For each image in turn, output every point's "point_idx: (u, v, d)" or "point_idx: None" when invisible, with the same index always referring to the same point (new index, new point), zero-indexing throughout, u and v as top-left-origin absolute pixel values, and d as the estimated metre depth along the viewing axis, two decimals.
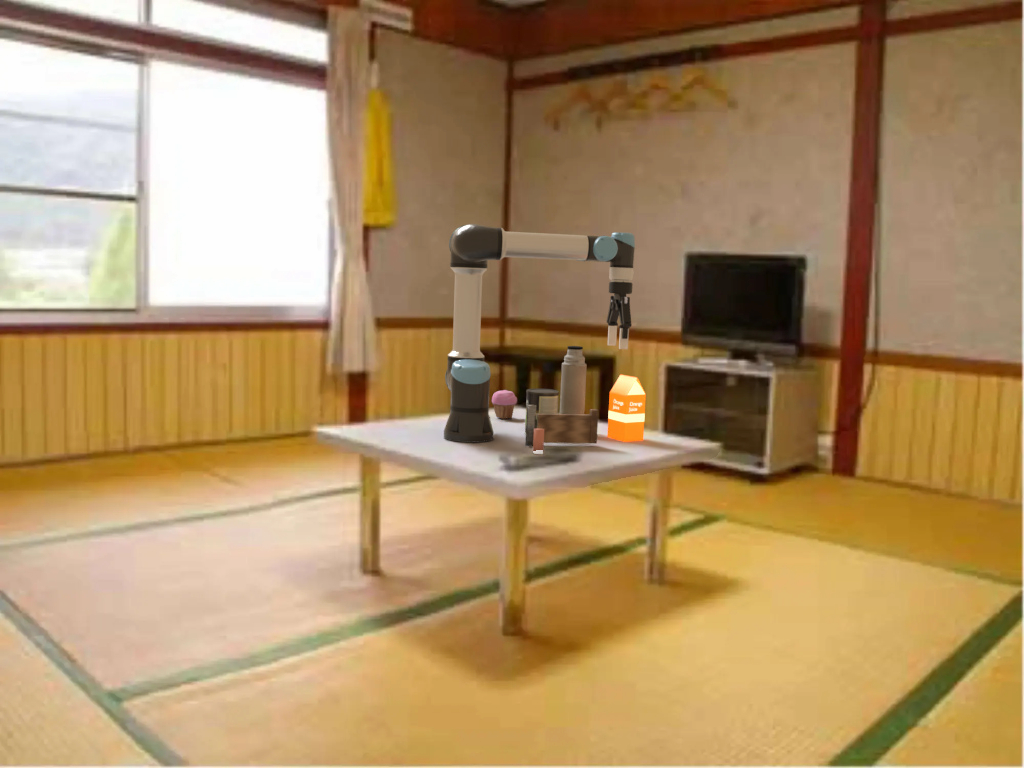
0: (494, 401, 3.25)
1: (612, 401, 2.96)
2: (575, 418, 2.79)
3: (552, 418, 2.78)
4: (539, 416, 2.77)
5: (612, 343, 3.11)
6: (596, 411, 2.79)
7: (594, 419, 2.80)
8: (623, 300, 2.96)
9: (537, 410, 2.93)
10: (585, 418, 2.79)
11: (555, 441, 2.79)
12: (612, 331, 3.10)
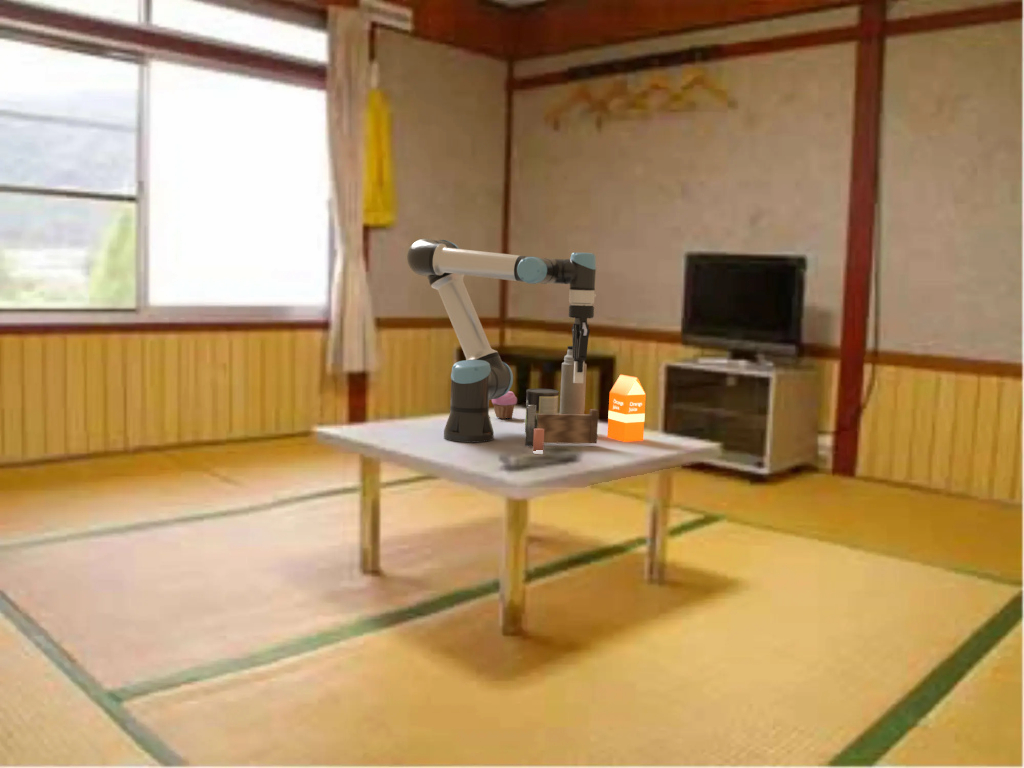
0: (494, 401, 3.25)
1: (612, 401, 2.96)
2: (575, 418, 2.79)
3: (552, 418, 2.78)
4: (539, 416, 2.77)
5: None
6: (596, 411, 2.79)
7: (594, 419, 2.80)
8: (582, 333, 2.77)
9: (537, 410, 2.93)
10: (585, 418, 2.79)
11: (555, 441, 2.79)
12: None
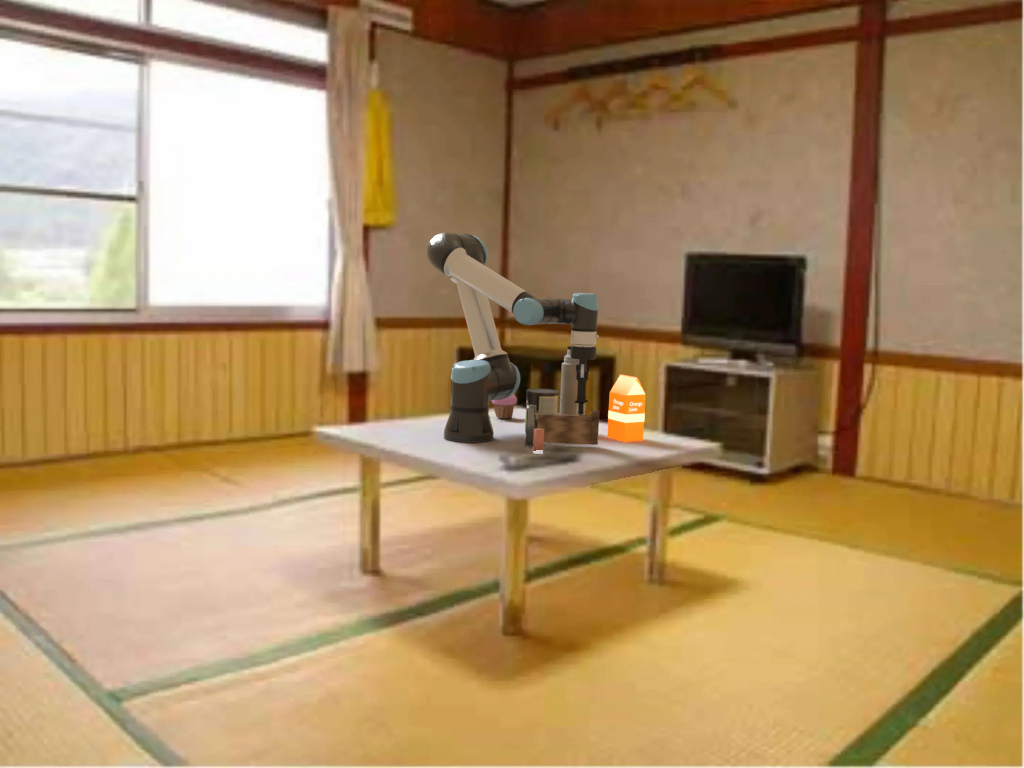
0: (494, 401, 3.25)
1: (612, 401, 2.96)
2: (575, 419, 2.77)
3: (552, 418, 2.77)
4: (539, 416, 2.77)
5: None
6: (597, 412, 2.77)
7: (595, 420, 2.78)
8: (579, 375, 2.73)
9: (537, 410, 2.93)
10: (586, 419, 2.77)
11: (555, 441, 2.78)
12: None
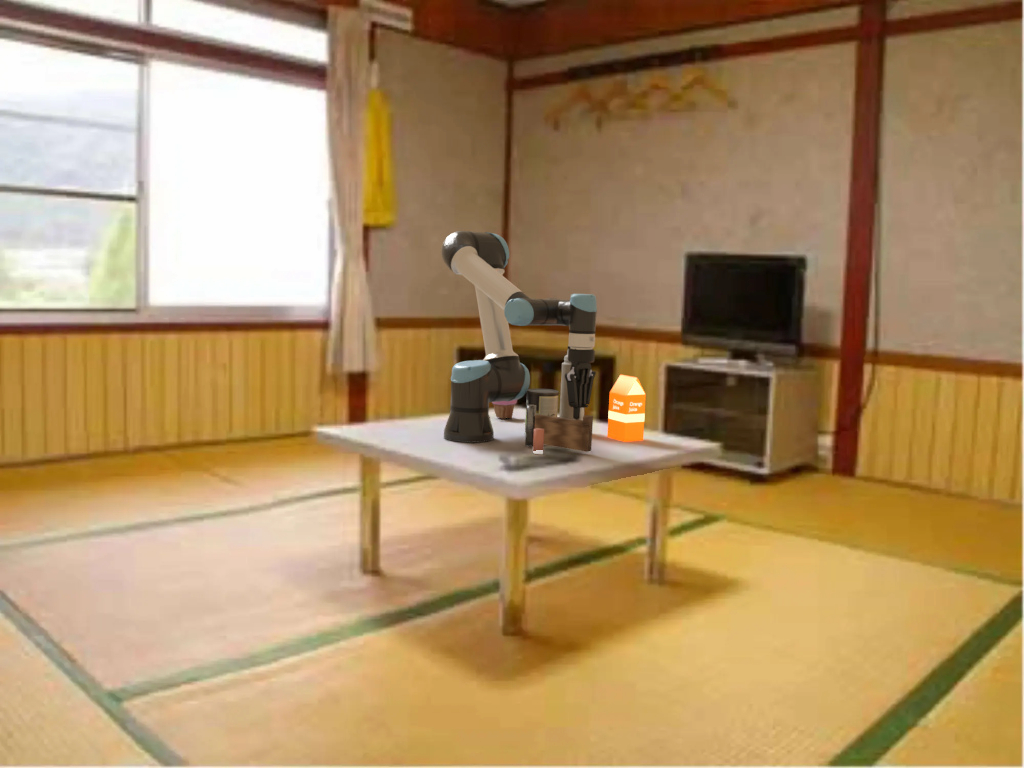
0: None
1: (612, 401, 2.96)
2: (567, 423, 2.69)
3: (547, 420, 2.73)
4: (535, 417, 2.75)
5: None
6: (587, 417, 2.66)
7: (586, 426, 2.66)
8: (566, 378, 2.65)
9: (537, 410, 2.93)
10: (577, 424, 2.68)
11: (550, 444, 2.74)
12: None
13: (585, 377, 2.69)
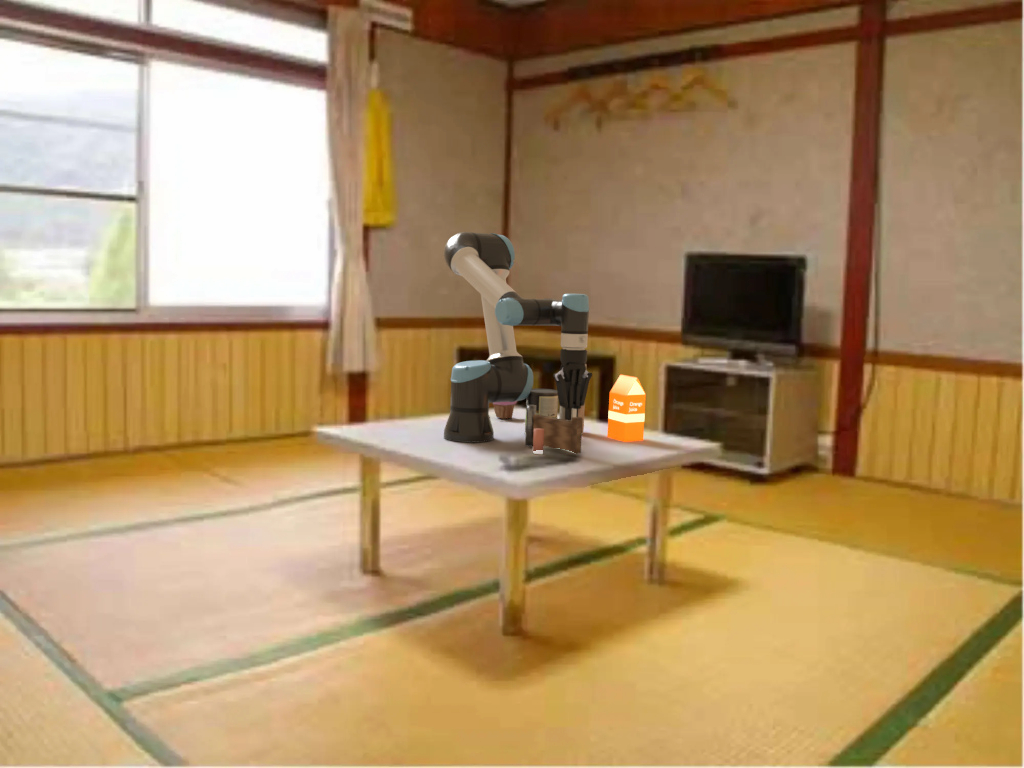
0: None
1: (612, 401, 2.96)
2: (559, 424, 2.67)
3: (542, 420, 2.72)
4: (533, 417, 2.75)
5: None
6: (575, 419, 2.62)
7: (574, 427, 2.63)
8: (555, 378, 2.63)
9: (537, 410, 2.93)
10: (566, 425, 2.65)
11: (545, 445, 2.72)
12: None
13: (577, 378, 2.65)
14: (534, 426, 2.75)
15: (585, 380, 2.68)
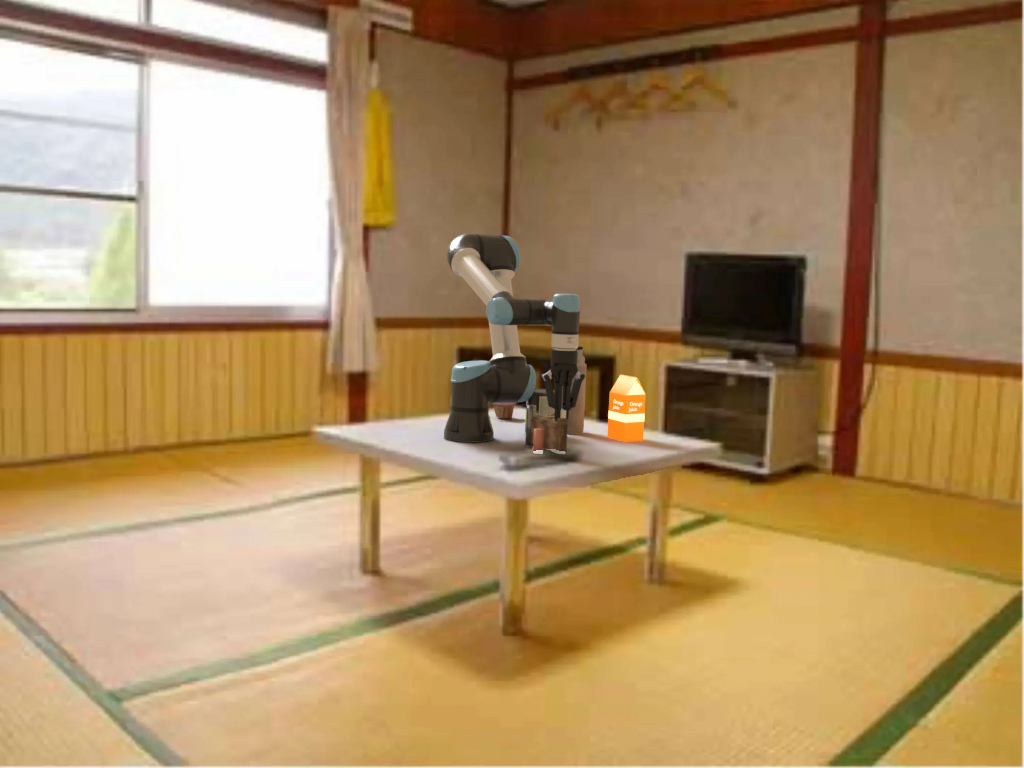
0: None
1: (612, 401, 2.96)
2: (548, 424, 2.65)
3: (537, 421, 2.72)
4: (531, 417, 2.75)
5: None
6: (559, 420, 2.59)
7: (558, 428, 2.60)
8: (542, 378, 2.62)
9: (537, 410, 2.93)
10: (553, 426, 2.63)
11: None
12: None
13: (567, 379, 2.62)
14: (532, 426, 2.75)
15: (577, 381, 2.64)
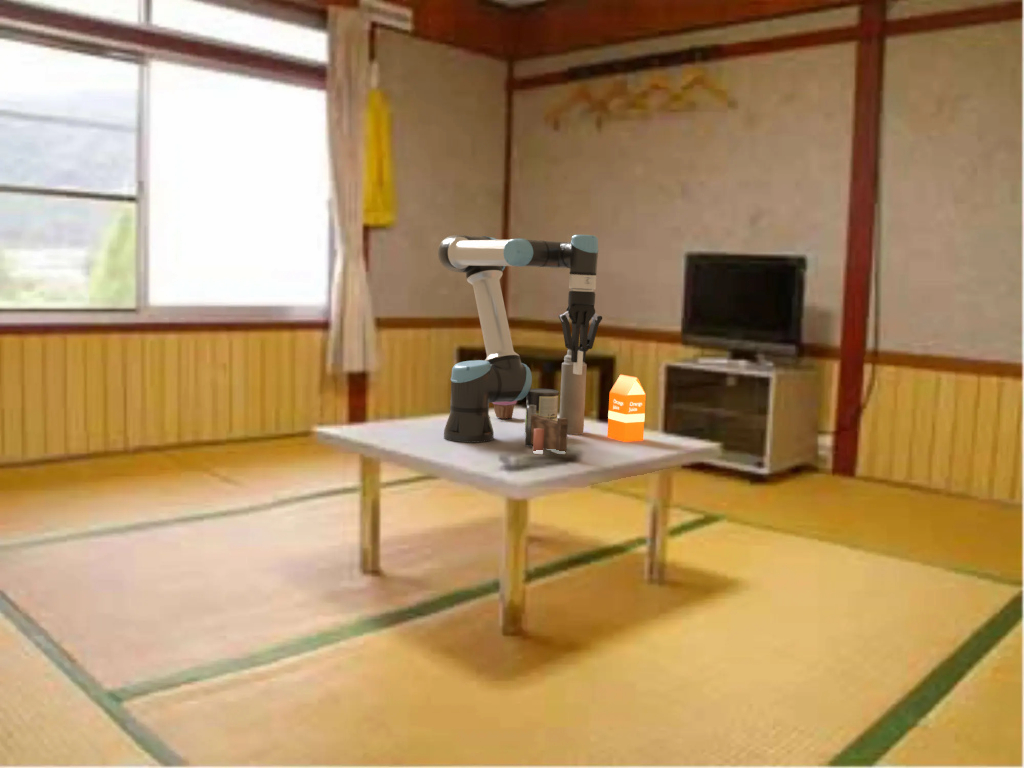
0: None
1: (612, 401, 2.96)
2: (548, 424, 2.65)
3: (537, 421, 2.72)
4: (531, 417, 2.75)
5: None
6: (559, 420, 2.59)
7: (558, 428, 2.60)
8: (560, 319, 2.63)
9: (537, 410, 2.93)
10: (553, 426, 2.63)
11: None
12: None
13: (584, 320, 2.64)
14: (532, 426, 2.75)
15: (594, 323, 2.66)
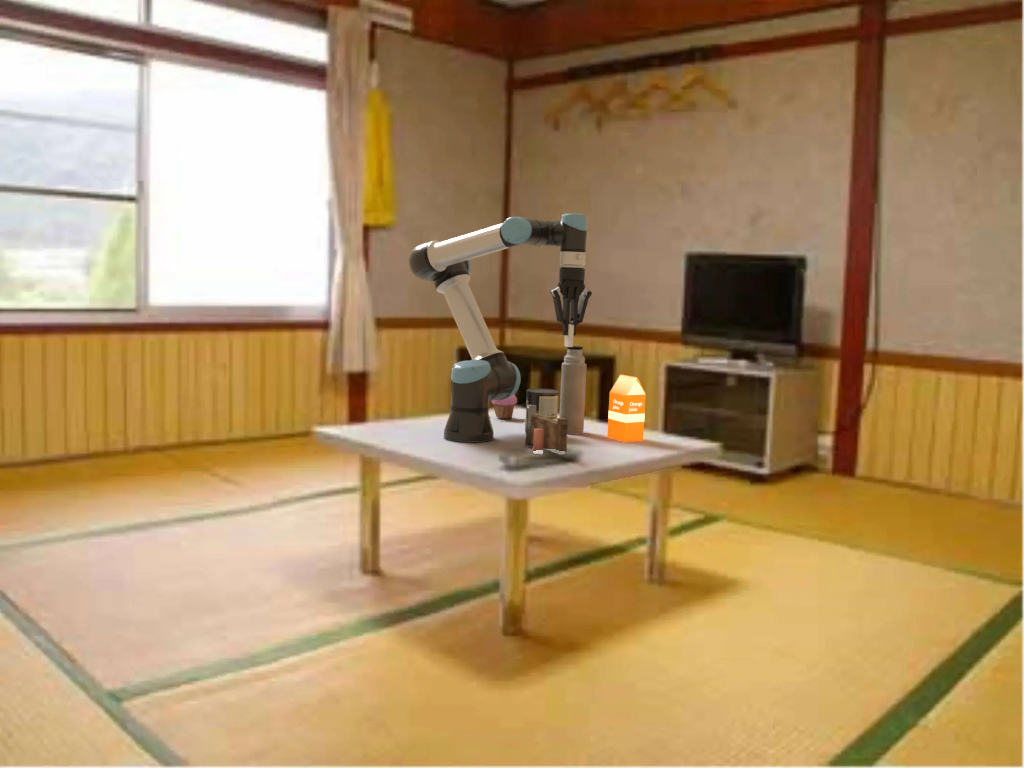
0: (494, 401, 3.25)
1: (612, 401, 2.96)
2: (548, 424, 2.65)
3: (537, 421, 2.72)
4: (531, 417, 2.75)
5: None
6: (559, 420, 2.59)
7: (558, 428, 2.60)
8: (551, 294, 2.76)
9: (537, 410, 2.93)
10: (553, 426, 2.63)
11: None
12: None
13: (574, 295, 2.77)
14: (532, 426, 2.75)
15: (584, 298, 2.79)
